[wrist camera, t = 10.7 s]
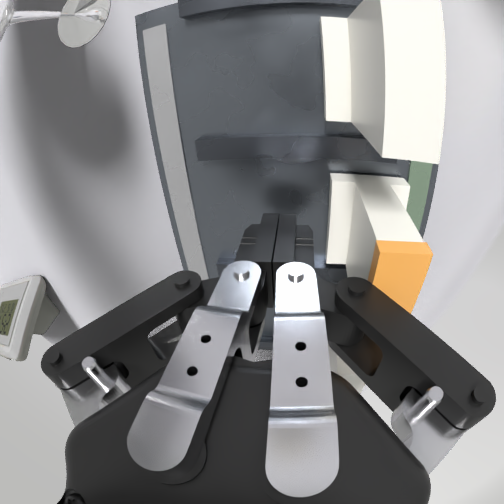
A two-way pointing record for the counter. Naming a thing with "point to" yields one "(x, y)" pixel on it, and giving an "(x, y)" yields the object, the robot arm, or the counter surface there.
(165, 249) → the counter surface
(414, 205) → the breaker panel
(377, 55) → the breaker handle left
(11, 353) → the digital clock
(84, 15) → the wineglass
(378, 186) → the breaker handle
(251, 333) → the robot arm
